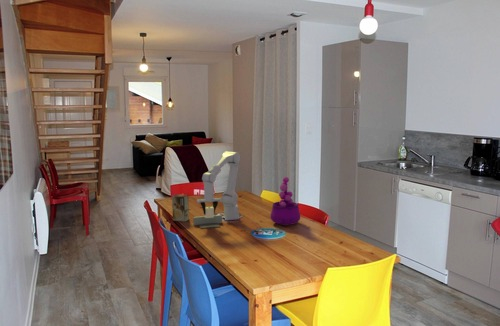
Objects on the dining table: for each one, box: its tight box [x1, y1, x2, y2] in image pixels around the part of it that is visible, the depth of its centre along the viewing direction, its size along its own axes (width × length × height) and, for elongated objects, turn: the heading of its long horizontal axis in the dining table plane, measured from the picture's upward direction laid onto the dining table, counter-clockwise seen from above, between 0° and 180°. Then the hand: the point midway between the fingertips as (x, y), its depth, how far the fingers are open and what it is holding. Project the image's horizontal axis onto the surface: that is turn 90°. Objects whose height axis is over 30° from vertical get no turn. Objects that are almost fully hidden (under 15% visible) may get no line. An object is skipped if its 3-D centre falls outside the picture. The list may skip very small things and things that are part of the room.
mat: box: [198, 223, 221, 230], centre depth 257 cm, size 12×8×1 cm, turn 107°
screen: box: [192, 214, 223, 226], centre depth 261 cm, size 18×1×5 cm, turn 107°
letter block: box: [203, 205, 215, 218], centre depth 256 cm, size 5×5×6 cm
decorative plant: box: [269, 176, 301, 226], centre depth 261 cm, size 19×18×30 cm
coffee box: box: [171, 194, 190, 222], centre depth 270 cm, size 9×6×16 cm
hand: (209, 213), depth 256 cm, fingers closed on letter block, 5 cm apart
